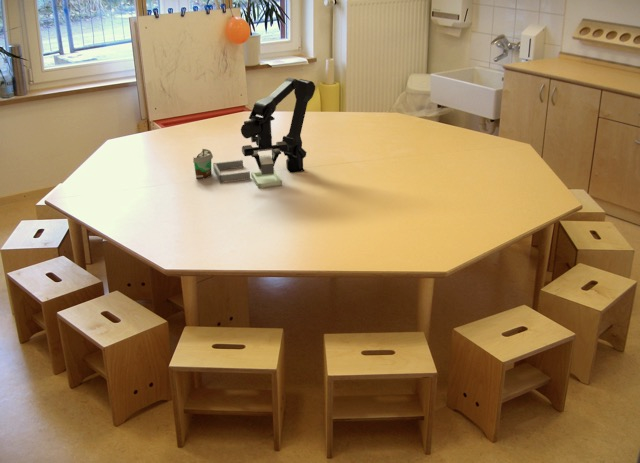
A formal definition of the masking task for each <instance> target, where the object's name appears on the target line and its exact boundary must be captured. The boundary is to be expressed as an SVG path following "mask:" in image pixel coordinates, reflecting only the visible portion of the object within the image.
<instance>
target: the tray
mask: <svg viewBox="0 0 640 463" xmlns="http://www.w3.org/2000/svg"><path fill="white" fill-rule="evenodd" d="M250 177H251V178H252V180H253V182H254V183H255V185H256V186H258V187H257V188H258V189H266V188H275V187H282V186H283V180H282V179H281V177H280V176H279V174H278V173H277V171H276V170H275V169H274V174H264V175H262V173H261V171H260V170H259V171H254V172H253V171H251V172H250Z"/></svg>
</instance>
